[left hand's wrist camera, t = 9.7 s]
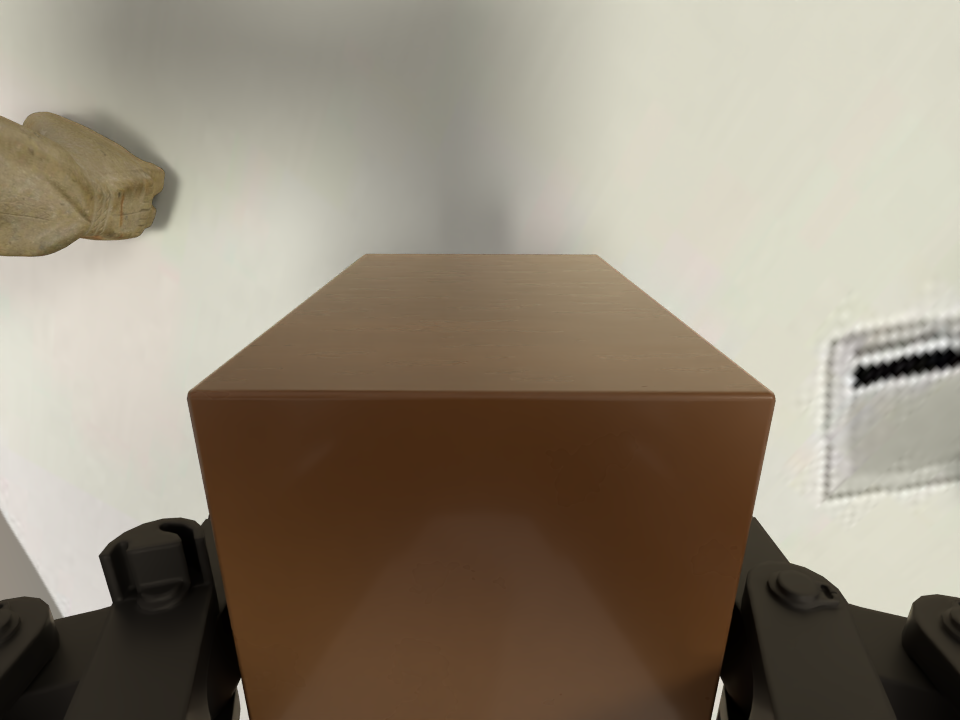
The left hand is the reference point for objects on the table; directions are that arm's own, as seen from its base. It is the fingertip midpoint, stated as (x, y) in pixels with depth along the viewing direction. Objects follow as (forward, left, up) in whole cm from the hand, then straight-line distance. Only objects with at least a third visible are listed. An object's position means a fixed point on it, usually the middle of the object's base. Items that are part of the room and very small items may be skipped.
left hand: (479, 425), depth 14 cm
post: (+27, -6, -1) cm, 28 cm away
